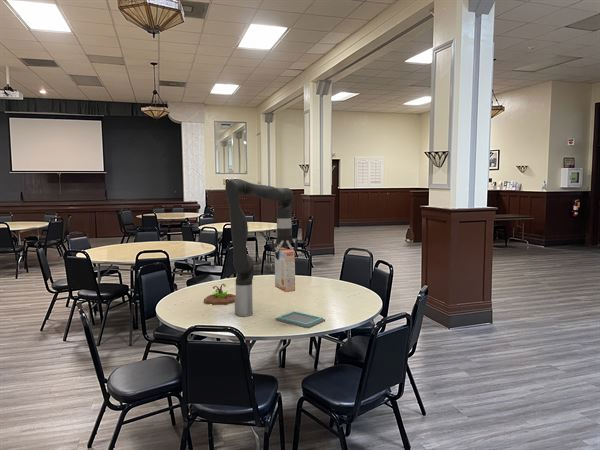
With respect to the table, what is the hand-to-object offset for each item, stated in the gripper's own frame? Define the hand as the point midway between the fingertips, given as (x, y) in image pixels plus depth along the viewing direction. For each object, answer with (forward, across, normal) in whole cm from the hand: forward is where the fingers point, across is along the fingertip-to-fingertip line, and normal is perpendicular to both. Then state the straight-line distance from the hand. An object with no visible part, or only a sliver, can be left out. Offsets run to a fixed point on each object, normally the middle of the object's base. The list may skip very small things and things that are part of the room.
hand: (284, 259), depth 224 cm
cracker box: (+16, 0, 0) cm, 16 cm away
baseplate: (+34, +8, +3) cm, 35 cm away
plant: (+34, -35, +50) cm, 70 cm away
